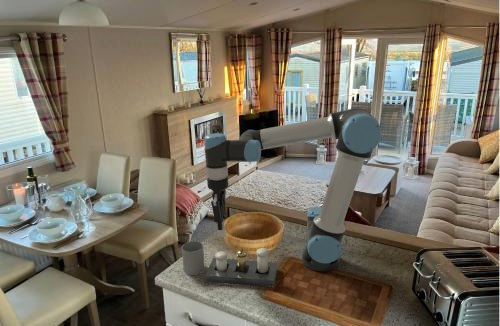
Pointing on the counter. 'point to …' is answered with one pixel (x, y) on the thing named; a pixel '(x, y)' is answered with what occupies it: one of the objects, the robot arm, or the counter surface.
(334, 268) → the robot arm
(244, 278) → the panel
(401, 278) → the counter surface
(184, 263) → the cup
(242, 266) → the brass slotted knob
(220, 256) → the knob
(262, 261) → the knob
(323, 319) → the counter surface
